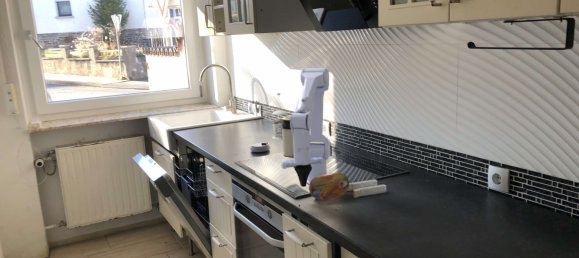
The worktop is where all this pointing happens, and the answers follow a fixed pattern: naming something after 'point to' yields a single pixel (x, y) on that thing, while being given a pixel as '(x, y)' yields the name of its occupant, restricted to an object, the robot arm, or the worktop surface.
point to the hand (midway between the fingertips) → (303, 185)
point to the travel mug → (287, 138)
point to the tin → (328, 186)
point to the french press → (278, 124)
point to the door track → (366, 188)
